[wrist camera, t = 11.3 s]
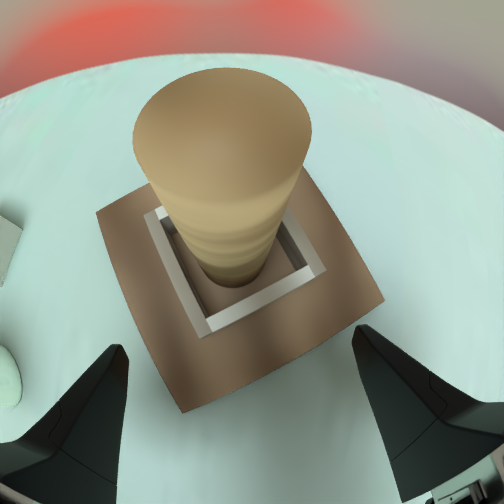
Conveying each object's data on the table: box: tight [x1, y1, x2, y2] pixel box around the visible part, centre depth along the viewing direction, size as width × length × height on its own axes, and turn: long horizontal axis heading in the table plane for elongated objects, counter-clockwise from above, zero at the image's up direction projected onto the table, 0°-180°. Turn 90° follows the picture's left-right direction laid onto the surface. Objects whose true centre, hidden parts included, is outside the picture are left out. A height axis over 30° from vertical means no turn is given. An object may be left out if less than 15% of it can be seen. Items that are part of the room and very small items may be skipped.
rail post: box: [133, 68, 312, 288], centre depth 12 cm, size 4×4×13 cm
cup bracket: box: [96, 165, 385, 414], centre depth 18 cm, size 16×16×4 cm
